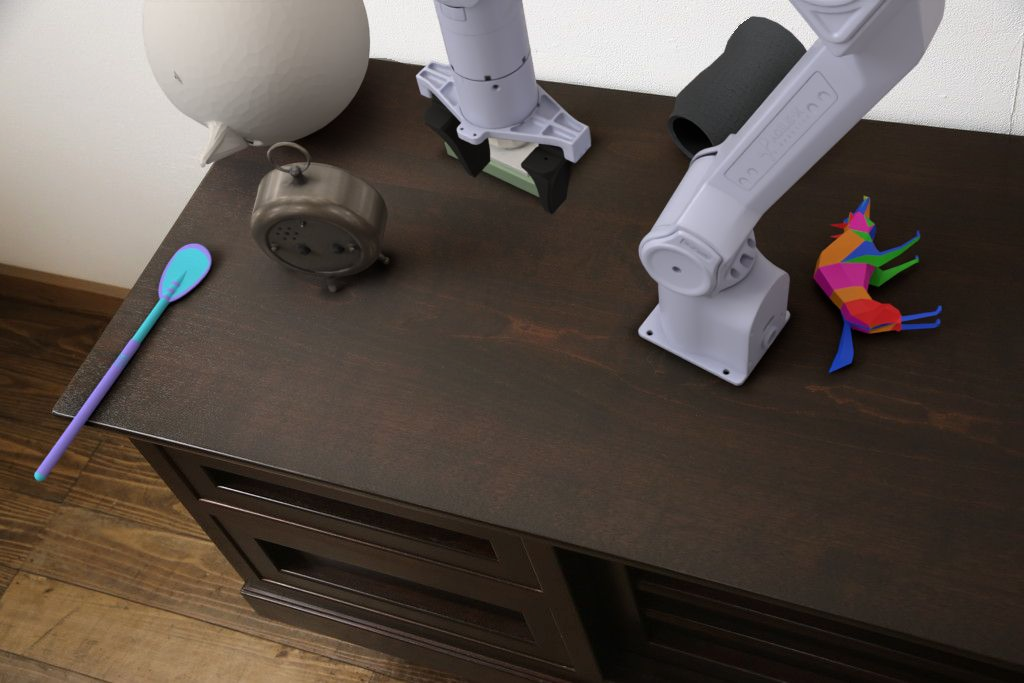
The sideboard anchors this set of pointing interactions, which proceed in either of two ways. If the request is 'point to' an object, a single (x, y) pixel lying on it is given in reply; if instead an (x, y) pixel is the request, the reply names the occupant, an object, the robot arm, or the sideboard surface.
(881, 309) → the figurine
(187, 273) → the spoon
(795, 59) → the mug
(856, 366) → the sideboard surface
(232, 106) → the mask
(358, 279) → the sideboard surface
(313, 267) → the alarm clock
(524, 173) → the scale
